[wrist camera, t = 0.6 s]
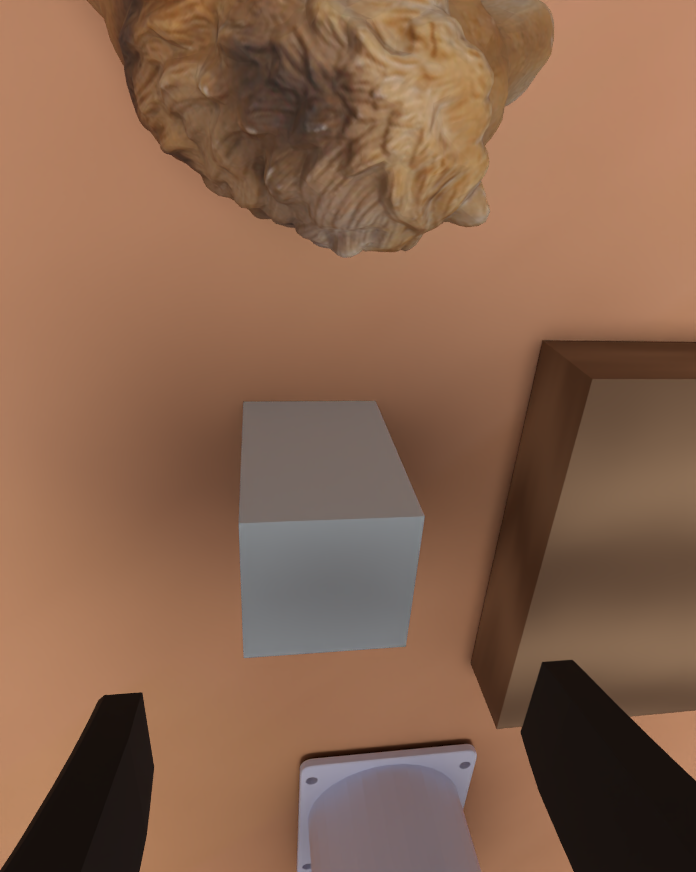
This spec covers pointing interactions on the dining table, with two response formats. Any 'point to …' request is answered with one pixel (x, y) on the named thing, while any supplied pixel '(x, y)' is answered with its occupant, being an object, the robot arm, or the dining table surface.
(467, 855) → the robot arm
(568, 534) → the walnut plinth
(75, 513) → the dining table surface
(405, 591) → the grey block
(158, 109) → the lion figurine
